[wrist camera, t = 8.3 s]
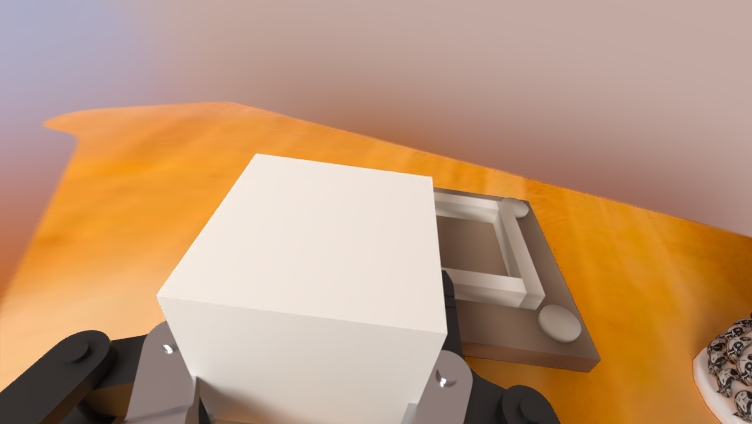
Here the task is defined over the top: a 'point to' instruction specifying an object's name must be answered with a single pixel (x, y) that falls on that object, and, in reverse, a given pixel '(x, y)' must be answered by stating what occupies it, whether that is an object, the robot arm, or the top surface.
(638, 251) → the top surface
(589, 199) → the top surface
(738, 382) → the decorative candle
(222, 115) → the top surface
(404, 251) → the post
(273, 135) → the top surface
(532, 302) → the socket plate
